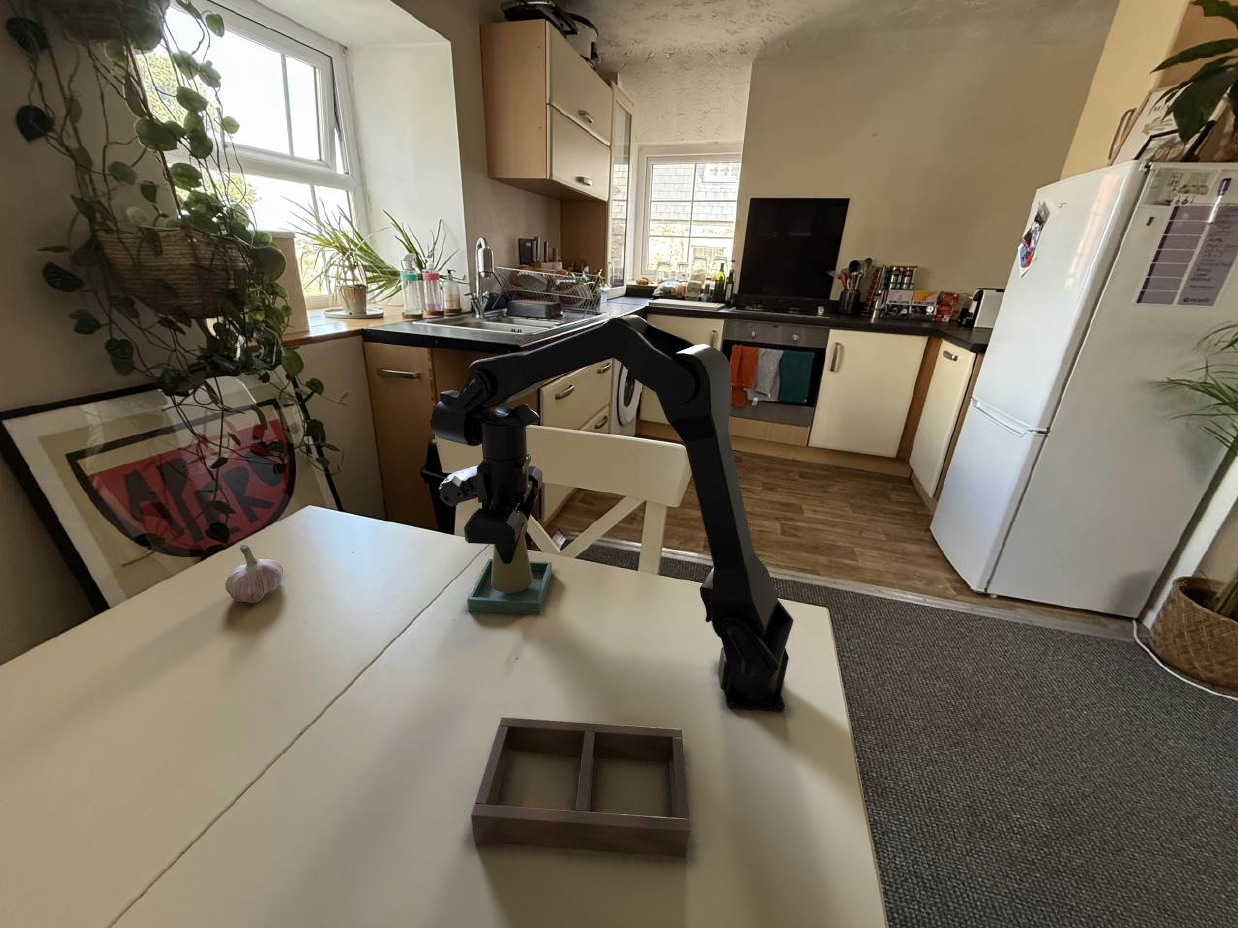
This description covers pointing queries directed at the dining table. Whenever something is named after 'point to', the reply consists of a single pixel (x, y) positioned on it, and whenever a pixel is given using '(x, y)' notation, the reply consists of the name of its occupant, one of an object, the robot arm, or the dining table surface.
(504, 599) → the tray
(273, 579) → the garlic bulb
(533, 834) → the divided wooden box
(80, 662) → the dining table surface
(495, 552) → the tan pawn
